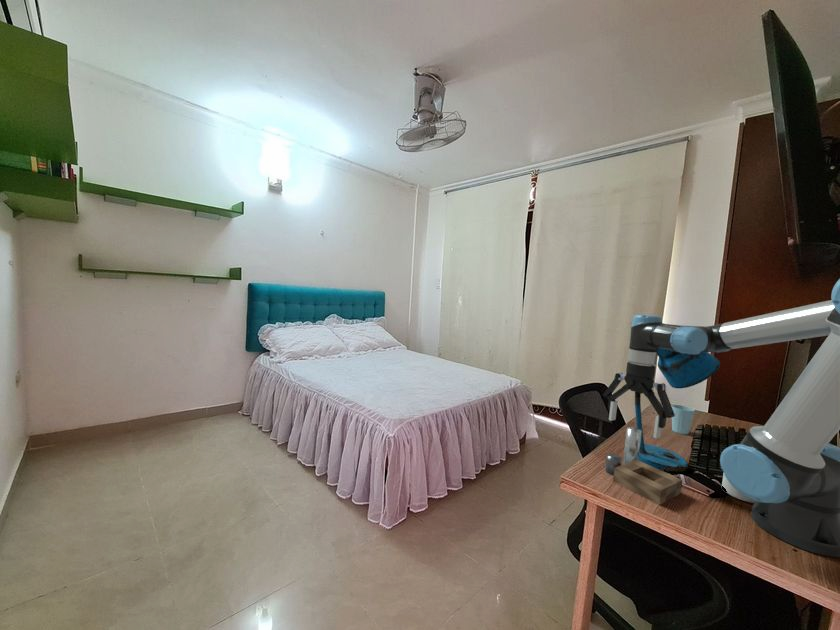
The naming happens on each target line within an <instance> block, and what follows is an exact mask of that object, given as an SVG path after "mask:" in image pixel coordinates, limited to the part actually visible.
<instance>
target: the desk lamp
mask: <svg viewBox="0 0 840 630" xmlns="http://www.w3.org/2000/svg"><path fill="white" fill-rule="evenodd" d="M657 356H658V359H657V368H658V369H659V371H660V372H661V373H662V375H663V377H664V379H665V380H666V381H667V383H668V384H669V386H670V387H671V388H674V389H686V388H691V387H693V386H696V385H698V384H700V383H701V384H702V382H704V381H706V380H709V378H710V377H712V376H713V375H714V374H715V373H716V372H717V371H718V370H719V368H720V367H721V366H720V365H721V362H720V360H719V359H718V358H717V357H715V356H714V355H713V354H711V352H700V353H699V354H695V355H694V354H686V353H684V354H683V353H680V352H676V351H672V350H667V349H662V348H658V352H657ZM641 395H642V394H641V393H638V392H636V391H634V408H635V409H634V410H635V413H634V414H635V424H636V428H638V429H640V430H641V431H642V433H641V442H640V451H639V461H641V462H643V463H645V464H648V465H650V466H652V467H654V468H657V469H659V470H661V471H664V469H665V468H668V467H677V466H679V467H687V468H688V462H687V460H686V459H685V458H684V457H683V456H681V455H680V454H678V453H676V452H674V451H672V450H669V449H667V448H665V447H664V448H663V447H660V446H657V445H653V444H652V445H651V444H647V443H645V440H644V430H643V429H644V428H643V424H642V423H643V422H642V419H643V418H642V408H641V407H642V406H641V400H642V399H641Z"/></svg>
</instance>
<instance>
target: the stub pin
mask: <svg viewBox="0 0 840 630" xmlns="http://www.w3.org/2000/svg"><path fill="white" fill-rule="evenodd" d="M620 465H622V456H620V455H619V454H615V453H609V452H608V453H606V459H605V469H604V471H605V473H607V474H608V475H611V476H614V468H615V467H618V466H620Z"/></svg>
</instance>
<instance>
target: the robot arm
mask: <svg viewBox="0 0 840 630" xmlns="http://www.w3.org/2000/svg"><path fill="white" fill-rule="evenodd" d="M830 299H831V300H825V301H820V302H816V303H812V304H811V303H810V304H807V305H802V306H798V307H793V308H788V309H783V310H779V311H774V312H773V311H772V312H769V313H765V314H761V315H760V314H759V315H755V316H751V317H747V318H746V317H745V318H741V319H737V320H732V321H727V322H724V323H719V324H718V323H717V324H714V325H713V324H712V325H707V326H700V325H683V324H682V325H681V324H680V325H679V324H670V323H663V321H662V320H663V318H662V317H661V316H658V315H652V314H635V315H634V316H633V317H632V323H631V326H630V336H629V337H630V338H629V346H628V352H627V353H628V354H627V360H628V362H626V369H625V373H626V374H623V373H622V372H616V373H615V375H614V379H613V380H612V382H611V383H610V384H609V386H608V387H607V388H606V390H605V391H604V392H603V395H602V396H603V397H604V398H606V399H607V400H608V403H607V409H608V410H609V416H608V420H609V421H616V418H617V409H618V403H619V402H618V400H617V399H618V398H620V397H621V396H622V395H624V394H625V393H627V392H628V391H631V392H635V391H636V392H638V393H641V395H642V394H643V395H644V396H645V397H646V398H647V399H648V401H649V402H650V405H651V406H652V407H653V409H654V410H655V412H656V414H657V415H656V416H655V419H654V420H655V422H654V428H653V435H652V438H655V439H657V438H658V439H659V438H661V435H662V430H663V429H665V427H666V424H667V418H668V419H672V417H674V416H675V414H674V411H673V409H672V406H671V405H672V404H671V402H670V398H669V397H668V394H667V391H666V389H667V385H666V384H665V383H664V382H663V383H658V382H655V381H654V380H655V374H656V364H657V361H658V359H657V358H658V357H657V356H658V355H657V352H658V348H662V349H667V350H672V351H676V352H680V353H683V354H684V353H686V354H694V355H695V354H699V353H700V352H708V353H713V354H717V353H727V352H729V351H731V350H734V349H741V348H748V347H749V348H750V347H757V346H763V345H771V344H775V343H776V344H777V343H784V342H789V341H797V340H798V341H799V340H805V339H812V338H818V337H826V336H827V337H826V338H825V340H824V342H823V343H822V344H821V346H820V347H819V348H818V349H817V351H816V352H815V354H814V355H813V357H812V358H811V359H810V361H809V362H808V363H807V365H806V366H805V368H804V369H803V371H802V372H801V374H800V375H799V376H798V378H796V379H797V380H796V381H795V382H794V383H793V385H792V386H791V388H790V389H789V391H788V392H787V394H786V395H785V396H784V398H783V399H782V401H780V403H779V405H778V406H777V407H776V409H775V410H774V412H773V413H772V414H771V416H770V417H769V419H768V420H767V421H766V423H765V424H764V425H759V426H758V425H755V426H752V427H750V429H749V430H748V432H747V433H746V435H744V437H743V439H742V441H740V443H737V444H732V445H729V446H728V447H726V448H724V449H723V451H722V452H721V453H720V459H719V462H720V463H719V464H720V468H721V470H722V471H723V473H725V474H724V475H725V477H726V478H727V480H728V481H729V482H730V483H731V485H732V486H733V487H734V488H735V489H737V490H738V491H739V492H740V493H742V494H743V495H745V496H747V497H748V498H750V499H753V500H755V501H756V502H755V503H753V505H752V506H751V513H750V517H751V519H752V521H753V522H754V523H755V524H756V525H758V526H759V527H760V528H761V529H763V530H764V531H766V532H767V533H768V534H771V536H773V537H775V538H777V539H779V540H781V541H783V542H785V543H787V544H789V545H792V546H794V547H797V548H799V549H802V550H805V551H807V552H810V553H814V554H816V555H817V554H818V555H822V556H825V557H830V558H840V447H839V446H837V445H834V444H832V443H831V441H832V440H833V439H834V437H835V436H836V435H837V433H838V432H839V431H840V278H839V279H838V280H837V281H836V282H835V284H834V285H833V288H832V290H831V297H830ZM623 381H625V384H624V385H623V386H622V387H621V388H619V389H618V390H617V388H618V387H619V385H620V384H621V382H623ZM653 389H655V390H656V391H657V392H656V393H657V395H658V397H656V394H655V392H654V390H653ZM615 390H616V391H615ZM658 398H659V400H660V401H659V400H658Z"/></svg>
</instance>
